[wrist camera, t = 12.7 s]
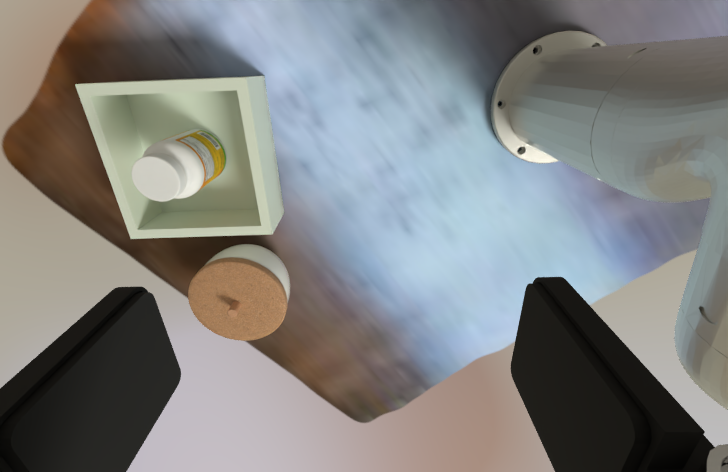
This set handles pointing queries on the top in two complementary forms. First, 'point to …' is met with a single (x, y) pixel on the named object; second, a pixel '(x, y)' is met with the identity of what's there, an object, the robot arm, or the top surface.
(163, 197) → the supplement bottle
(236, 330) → the lidded jar
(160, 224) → the bin
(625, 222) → the top surface
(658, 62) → the robot arm
